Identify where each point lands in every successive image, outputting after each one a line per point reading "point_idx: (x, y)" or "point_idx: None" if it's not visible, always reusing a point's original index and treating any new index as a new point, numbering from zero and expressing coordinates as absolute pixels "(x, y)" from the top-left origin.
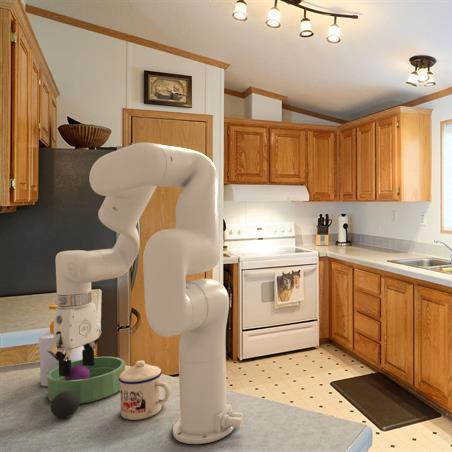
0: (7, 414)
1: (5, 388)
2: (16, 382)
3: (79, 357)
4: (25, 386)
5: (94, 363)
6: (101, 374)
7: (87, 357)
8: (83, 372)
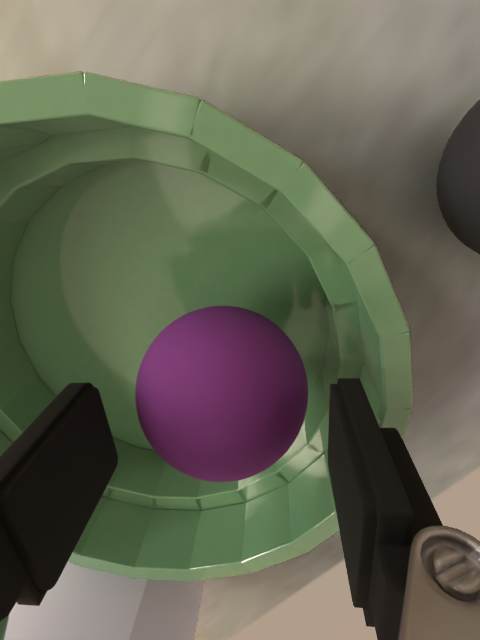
0: (475, 462)
1: (266, 612)
2: (215, 616)
3: None
4: (231, 577)
5: (63, 389)
6: (26, 386)
7: (69, 480)
8: (223, 350)
